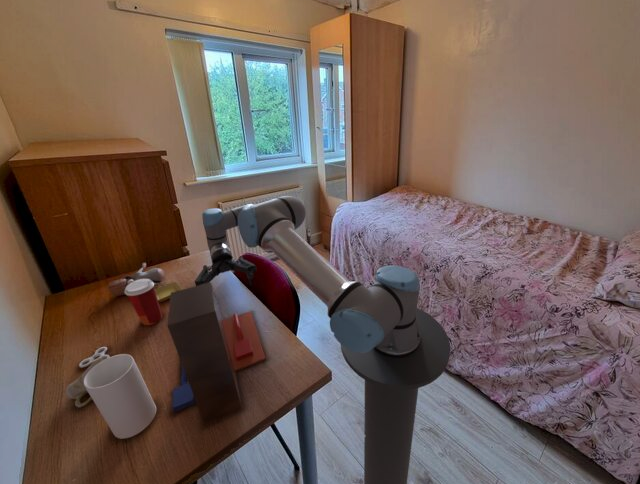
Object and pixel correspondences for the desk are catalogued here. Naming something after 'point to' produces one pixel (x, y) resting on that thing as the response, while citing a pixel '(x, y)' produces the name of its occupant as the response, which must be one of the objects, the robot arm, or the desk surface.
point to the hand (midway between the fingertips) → (230, 288)
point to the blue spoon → (182, 394)
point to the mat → (247, 332)
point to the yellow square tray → (167, 291)
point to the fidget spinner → (94, 357)
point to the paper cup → (144, 300)
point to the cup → (121, 395)
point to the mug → (81, 386)
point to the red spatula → (241, 342)
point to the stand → (204, 351)
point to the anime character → (120, 285)
